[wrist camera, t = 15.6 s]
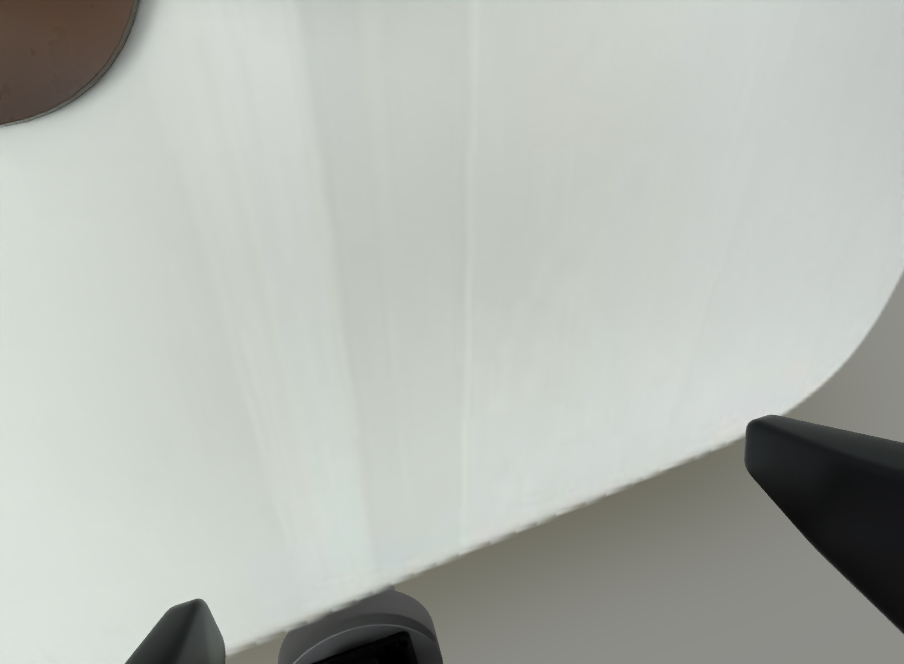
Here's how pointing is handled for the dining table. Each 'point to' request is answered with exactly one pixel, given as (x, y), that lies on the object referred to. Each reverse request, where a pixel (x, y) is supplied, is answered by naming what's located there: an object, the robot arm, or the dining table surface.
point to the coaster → (56, 51)
